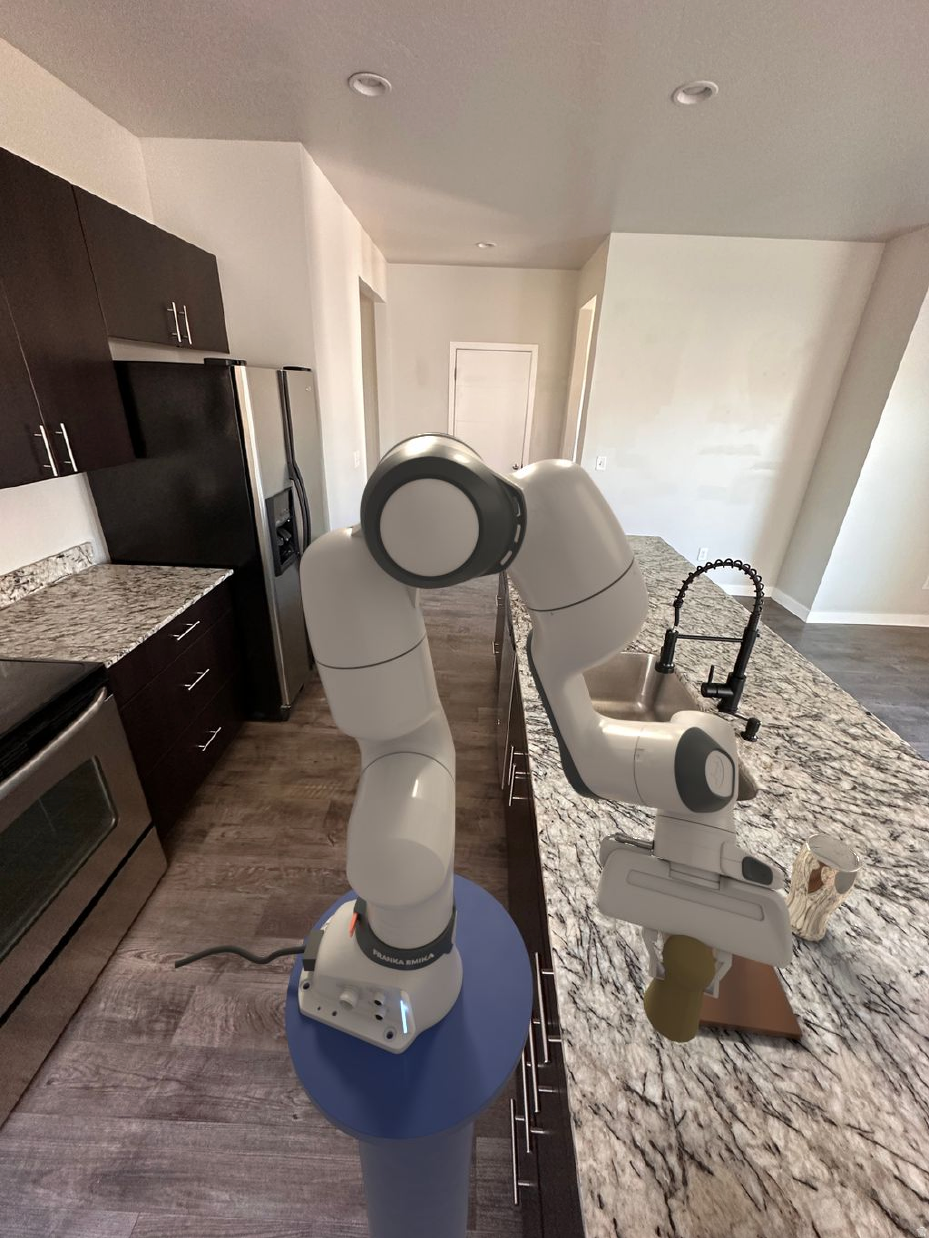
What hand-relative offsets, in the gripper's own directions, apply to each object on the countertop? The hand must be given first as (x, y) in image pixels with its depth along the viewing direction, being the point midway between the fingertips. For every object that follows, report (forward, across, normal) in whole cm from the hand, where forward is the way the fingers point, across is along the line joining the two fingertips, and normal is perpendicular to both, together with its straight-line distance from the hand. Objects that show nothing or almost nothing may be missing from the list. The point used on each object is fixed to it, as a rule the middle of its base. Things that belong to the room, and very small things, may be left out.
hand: (682, 986), depth 53 cm
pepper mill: (+4, 0, +5) cm, 6 cm away
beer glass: (-8, +22, +28) cm, 36 cm away
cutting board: (+1, +9, +18) cm, 21 cm away
